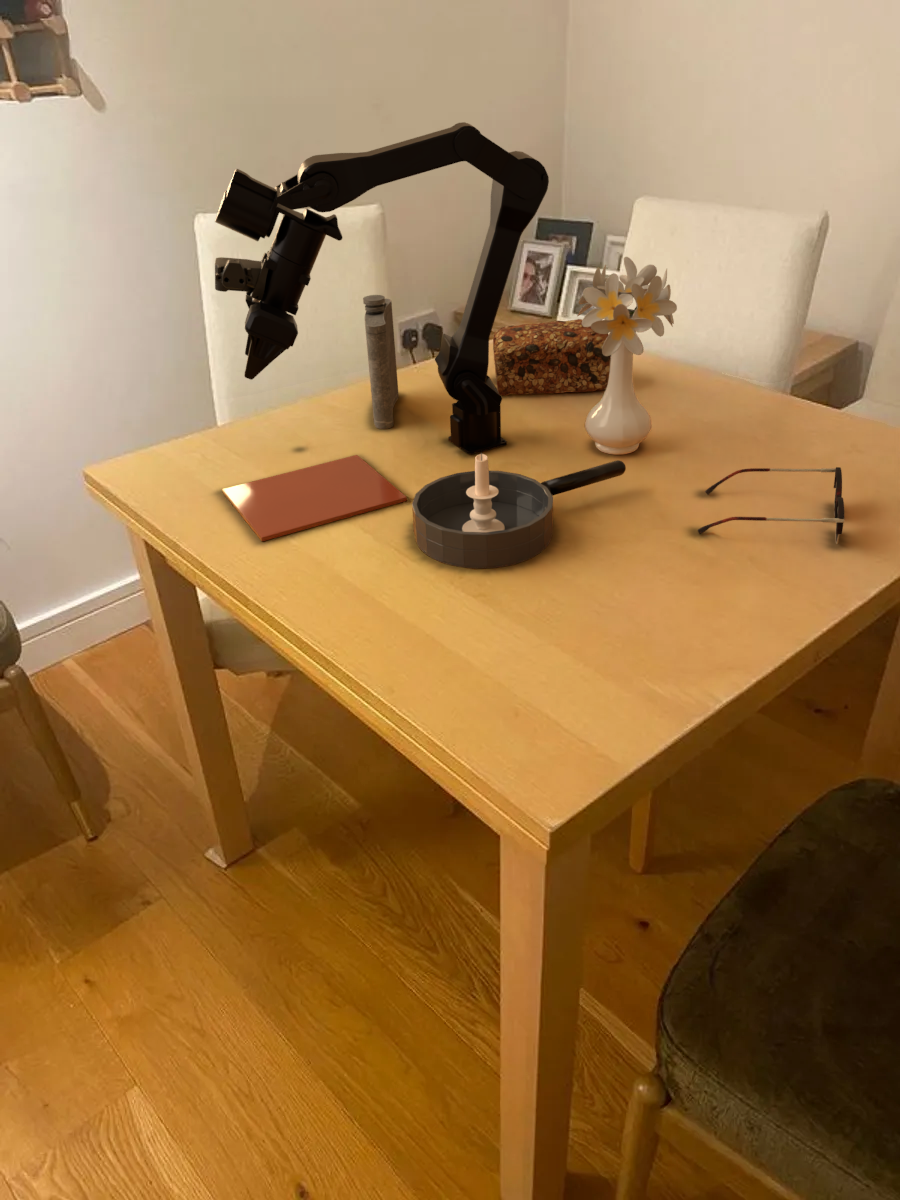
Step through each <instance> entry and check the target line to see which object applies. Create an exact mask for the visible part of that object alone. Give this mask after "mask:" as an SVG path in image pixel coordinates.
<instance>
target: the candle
mask: <svg viewBox="0 0 900 1200" xmlns="http://www.w3.org/2000/svg"><path fill="white" fill-rule="evenodd" d="M474 471H475V486H472V487H470V488H468V489H467V491H466V494H467V495H468V496H469V497H470V498H473V499H474V503H473V505H474V510H472V511H471V512H470V518H471V519H472V520H469V521H467V522H466V523H465V524H464V525H463V527H462V531H463V532H493V531H501V530H505V526H504V524H503V523H502V522H501V521H499V520H497V519H495V518H496V512H495V510H493V509H491V508H492V502H491V499H492V498H493V497H495V496H497V494H498V492H499V491H498V489H497V488H496V487H494V486H491V485H489V471H490V469H489V457H488V456H487V454H484V453H482V452H480V453H479V454H477V455H476V456H475V458H474Z"/></svg>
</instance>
